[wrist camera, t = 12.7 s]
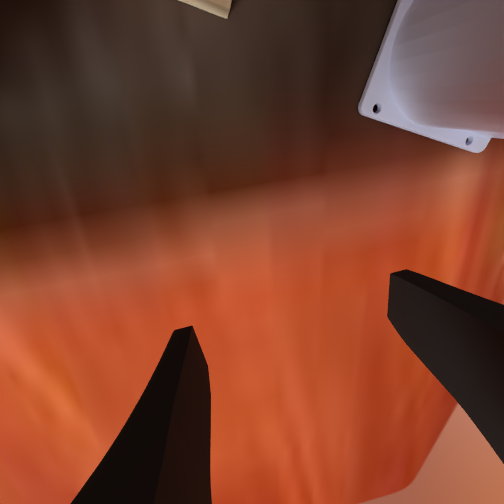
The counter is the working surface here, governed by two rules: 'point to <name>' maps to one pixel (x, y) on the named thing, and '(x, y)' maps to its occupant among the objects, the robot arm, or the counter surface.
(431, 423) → the counter surface
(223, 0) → the collar
